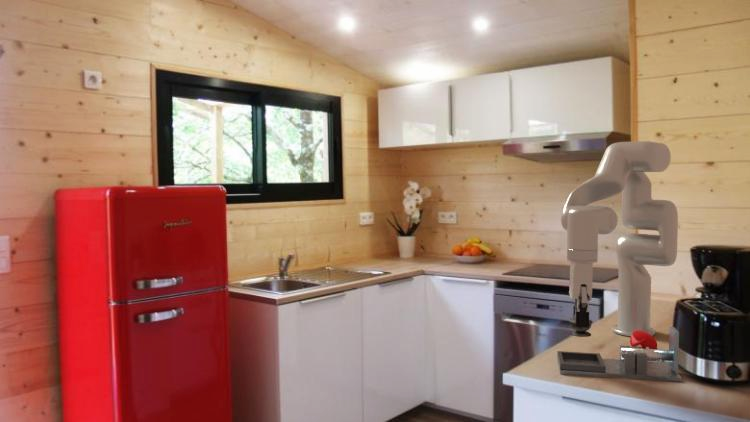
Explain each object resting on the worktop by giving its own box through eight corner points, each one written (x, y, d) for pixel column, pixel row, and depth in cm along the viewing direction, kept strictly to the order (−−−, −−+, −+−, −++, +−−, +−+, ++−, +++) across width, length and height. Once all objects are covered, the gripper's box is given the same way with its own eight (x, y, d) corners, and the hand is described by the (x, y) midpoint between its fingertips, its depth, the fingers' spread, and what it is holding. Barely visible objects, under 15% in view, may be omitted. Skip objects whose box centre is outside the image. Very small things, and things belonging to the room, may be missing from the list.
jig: (557, 359, 165) (557, 339, 165) (669, 366, 159) (669, 345, 159) (560, 373, 154) (560, 352, 153) (681, 382, 147) (682, 360, 147)
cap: (622, 340, 172) (639, 333, 168) (630, 329, 176) (647, 322, 171) (640, 363, 171) (658, 357, 167) (647, 352, 175) (665, 345, 171)
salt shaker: (594, 337, 154) (595, 291, 153) (570, 336, 155) (570, 290, 155) (590, 331, 160) (591, 287, 159) (567, 330, 161) (568, 286, 160)
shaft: (619, 361, 158) (620, 324, 158) (672, 364, 155) (673, 326, 155) (622, 367, 154) (623, 329, 153) (677, 371, 151) (679, 332, 150)
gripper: (564, 250, 165) (563, 315, 167) (569, 260, 149) (568, 331, 150) (593, 251, 164) (592, 316, 165) (602, 260, 147) (600, 333, 148)
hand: (580, 323), depth 157 cm, fingers closed on salt shaker, 5 cm apart
